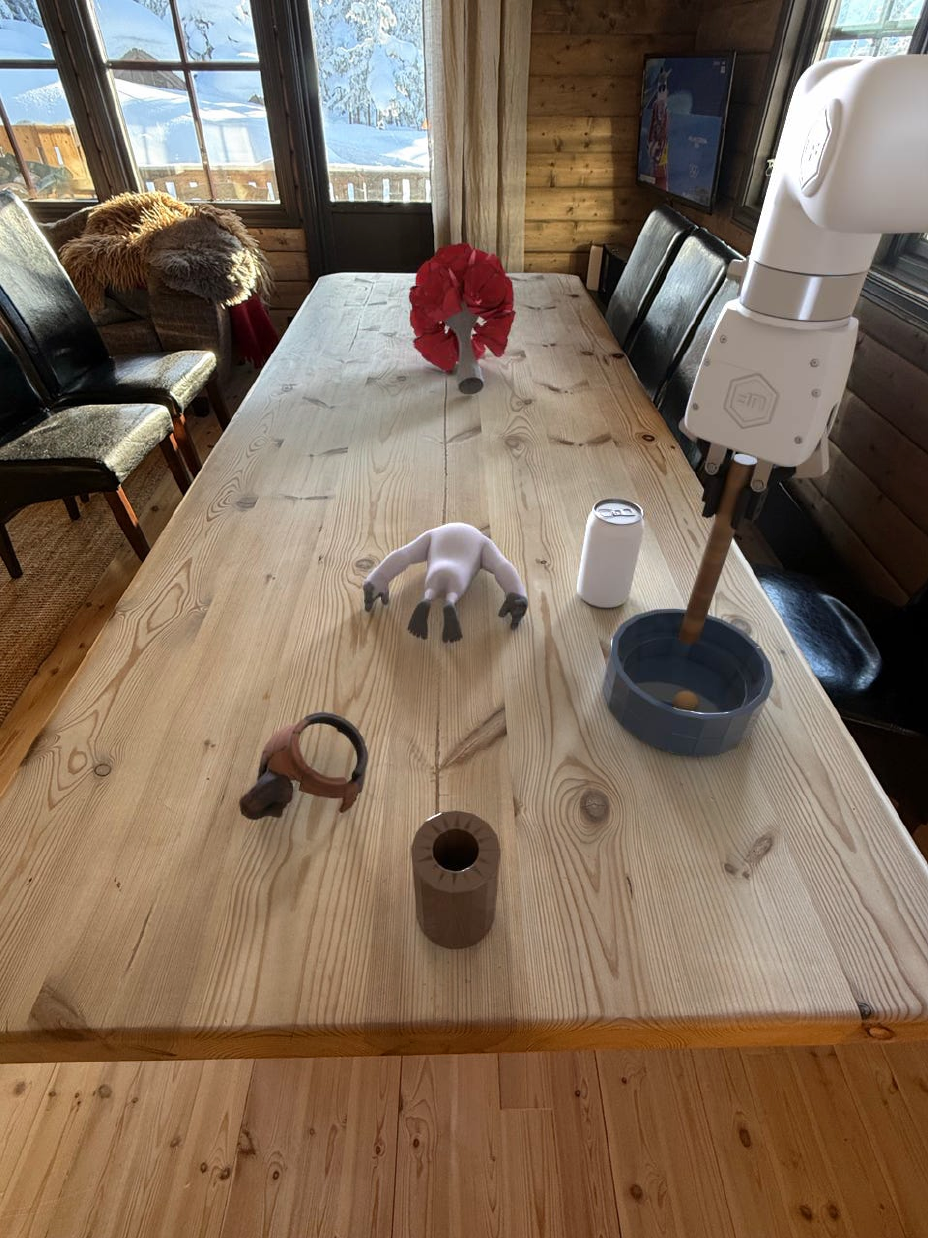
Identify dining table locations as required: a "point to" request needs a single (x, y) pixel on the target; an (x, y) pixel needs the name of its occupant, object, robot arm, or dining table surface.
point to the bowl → (686, 683)
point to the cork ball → (686, 701)
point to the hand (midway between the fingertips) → (727, 516)
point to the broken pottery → (301, 770)
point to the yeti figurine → (448, 576)
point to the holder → (455, 878)
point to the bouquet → (461, 311)
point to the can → (610, 552)
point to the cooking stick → (716, 548)
